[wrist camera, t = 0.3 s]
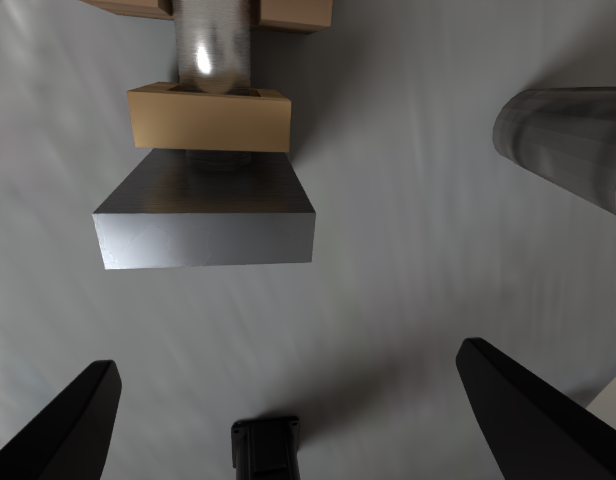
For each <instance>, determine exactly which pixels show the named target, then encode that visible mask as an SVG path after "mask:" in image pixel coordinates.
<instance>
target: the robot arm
mask: <svg viewBox="0 0 616 480" xmlns="http://www.w3.org/2000/svg"><path fill="white" fill-rule="evenodd" d="M456 366H457V369H458V372H459V374H460V377H461V380H462V382H463V385H464V388H465V391H466V393H467V396H468V399H469V401H470V404H471V407H472V409H473V412H474V414H475V417H476V419H477V422H478V424H479V426H480V428H481V430H482V432H483V435H484V437H485V439H486V441H487V443H488V445H489V447H490V449H491V451H492V453H493V455H494V457H495V459H496V461H497V464H498V466H499V468H500V470H501V472H502V474H503V476H504V478H505V480H616V430H615V429H613V428H612V427H610V426H609V425H608V424H606V423H605V422H603V421H602V420H600V419H599V418H597V417H596V416H595V415H593V414H592V413H590V412H589V411H587V410H586V409H584V408H583V407H581V406H580V405H579V404H577V403H576V402H574V401H573V400H571V399H570V398H568V397H567V396H565V395H564V394H563V393H561V392H560V391H558V390H557V389H555V388H554V387H552V386H551V385H549V384H548V383H546V382H545V381H544V380H542V379H541V378H539V377H538V376H536V375H535V374H533V373H532V372H530V371H529V370H528V369H526V368H525V367H523V366H522V365H520V364H519V363H517V362H516V361H514V360H513V359H512V358H510V357H509V356H507V355H506V354H504V353H503V352H501V351H500V350H498V349H497V348H496V347H494V346H493V345H491V344H490V343H488V342H487V341H485V340H484V339H482V338H479V337H473V338H466V339H465V340H464V341H463V343H462V345H461V347H460V349H459V351H458V354H457V356H456ZM121 389H122V382H121V378H120V375H119V372H118V369H117V366H116V363H115V362H114V361H113V360H97V361H94V362H92V363H91V364H90V365H89V366H88V367H87V368H86V369H84V370H83V371H82V372H81V373H80V374H79V375H78V376H77V377H76V378H75V379H74V380H73V381H72V382H71V383H70V384H69V385H68V386H67V387H66V388H65V389H64V390H62V391H61V392H60V393H59V394H58V395H57V396H56V397H55V398H54V399H53V400H52V401H51V402H50V403H49V404H48V405H47V406H46V407H45V408H44V409H43V410H42V411H40V412H39V413H38V414H37V415H36V416H35V417H34V418H33V419H32V420H31V421H30V422H29V423H28V424H27V425H26V426H25V427H24V428H23V429H22V430H21V431H20V432H18V433H17V434H16V435H15V436H14V437H13V438H12V439H11V440H10V441H9V442H8V443H7V444H6V445H5V446H4V447H3V448H2V449H1V450H0V480H100V478H101V475H102V471H103V468H104V465H105V462H106V458H107V454H108V450H109V445H110V441H111V436H112V431H113V427H114V422H115V418H116V413H117V409H118V404H119V399H120V395H121ZM299 427H300V421H299V418H298V417H289V418H281V419H273V420H265V421H257V422H249V423H241V424H235V425H233V426H232V427H231V439H232V460H233V468H236V480H300V474H299V467H298V461H297V447H298V437H299Z"/></svg>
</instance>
